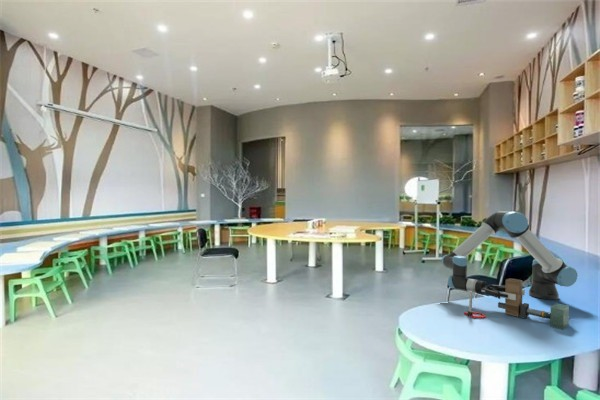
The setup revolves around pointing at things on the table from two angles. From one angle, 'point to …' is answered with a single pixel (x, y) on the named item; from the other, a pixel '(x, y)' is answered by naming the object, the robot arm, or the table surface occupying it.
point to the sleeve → (516, 288)
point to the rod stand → (549, 314)
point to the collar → (524, 310)
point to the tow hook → (469, 312)
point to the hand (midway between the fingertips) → (520, 294)
